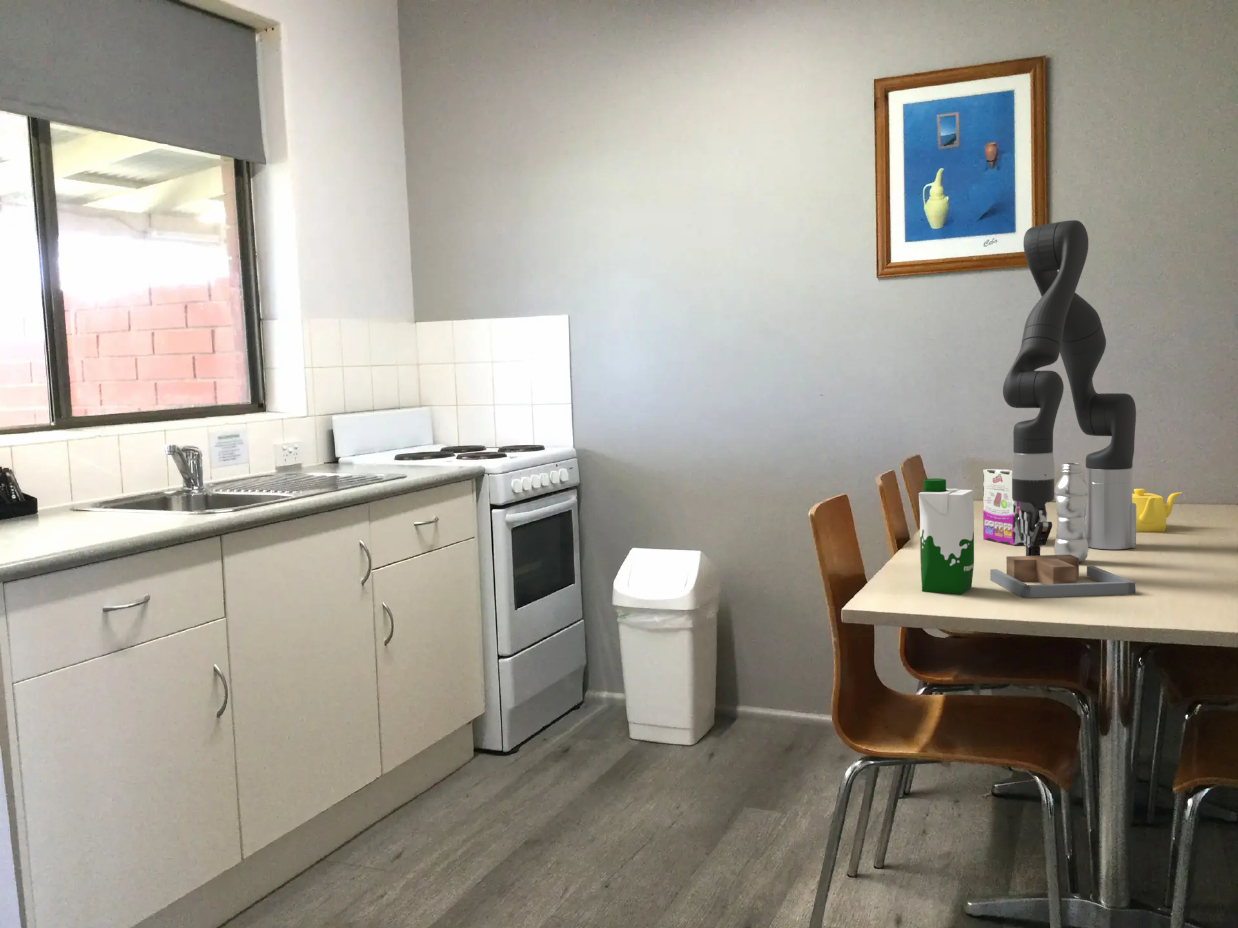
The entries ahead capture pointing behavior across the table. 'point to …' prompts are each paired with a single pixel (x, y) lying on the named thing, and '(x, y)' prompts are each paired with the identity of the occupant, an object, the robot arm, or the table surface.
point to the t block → (1044, 568)
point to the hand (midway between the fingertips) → (1032, 565)
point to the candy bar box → (999, 508)
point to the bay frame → (1068, 585)
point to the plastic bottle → (1071, 512)
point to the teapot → (1151, 510)
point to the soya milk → (946, 537)
